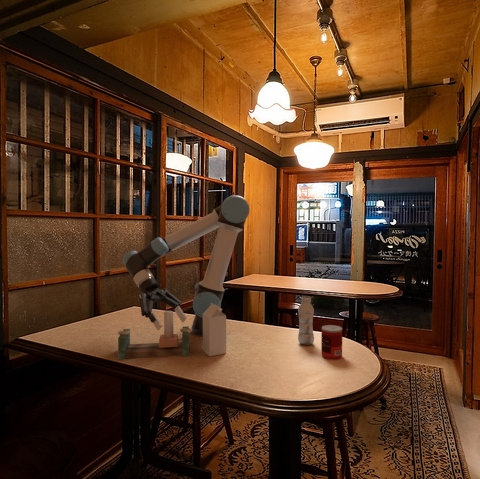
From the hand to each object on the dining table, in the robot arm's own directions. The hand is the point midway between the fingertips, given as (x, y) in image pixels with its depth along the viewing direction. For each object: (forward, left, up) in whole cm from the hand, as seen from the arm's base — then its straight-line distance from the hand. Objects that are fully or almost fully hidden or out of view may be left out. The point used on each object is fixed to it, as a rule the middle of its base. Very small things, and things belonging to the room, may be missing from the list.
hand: (172, 324), depth 139 cm
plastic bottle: (-55, -1, -11) cm, 56 cm away
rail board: (+7, -1, -11) cm, 13 cm away
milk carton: (-16, +3, -11) cm, 20 cm away
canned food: (-60, +14, -11) cm, 63 cm away
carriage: (+2, -1, -8) cm, 8 cm away
